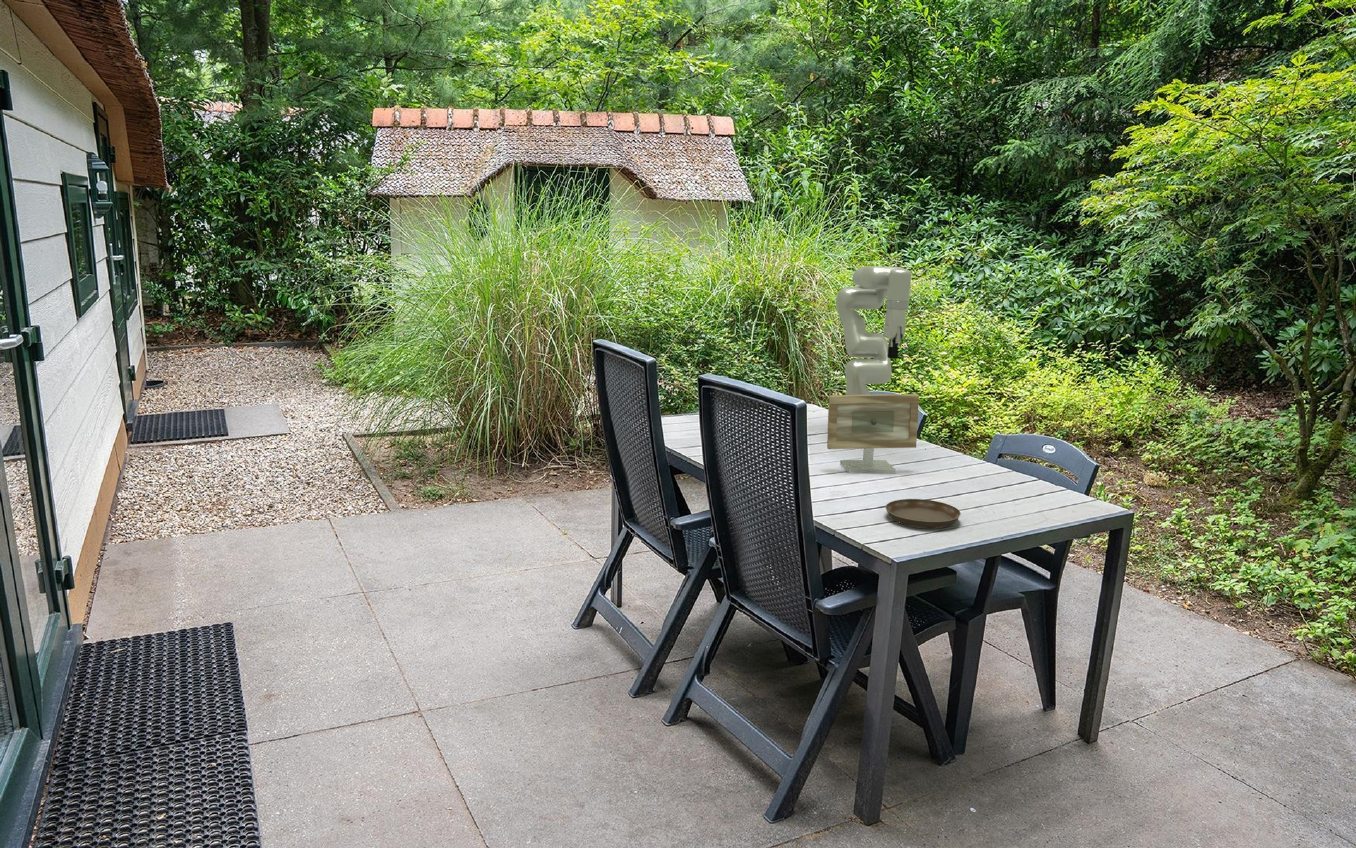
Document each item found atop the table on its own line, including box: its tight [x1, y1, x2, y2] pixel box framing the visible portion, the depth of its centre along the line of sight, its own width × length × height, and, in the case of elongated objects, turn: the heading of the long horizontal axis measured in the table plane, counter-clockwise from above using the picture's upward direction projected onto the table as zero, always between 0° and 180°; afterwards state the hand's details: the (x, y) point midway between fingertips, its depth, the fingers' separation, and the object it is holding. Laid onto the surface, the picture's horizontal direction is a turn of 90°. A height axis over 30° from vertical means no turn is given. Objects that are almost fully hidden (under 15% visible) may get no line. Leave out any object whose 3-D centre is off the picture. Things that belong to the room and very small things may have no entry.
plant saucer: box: [885, 498, 962, 530], centre depth 265 cm, size 21×21×3 cm
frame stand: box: [839, 448, 897, 475], centre depth 317 cm, size 12×16×18 cm
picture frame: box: [826, 393, 920, 450], centre depth 313 cm, size 3×30×18 cm, turn 94°
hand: (892, 357), depth 326 cm, fingers closed
